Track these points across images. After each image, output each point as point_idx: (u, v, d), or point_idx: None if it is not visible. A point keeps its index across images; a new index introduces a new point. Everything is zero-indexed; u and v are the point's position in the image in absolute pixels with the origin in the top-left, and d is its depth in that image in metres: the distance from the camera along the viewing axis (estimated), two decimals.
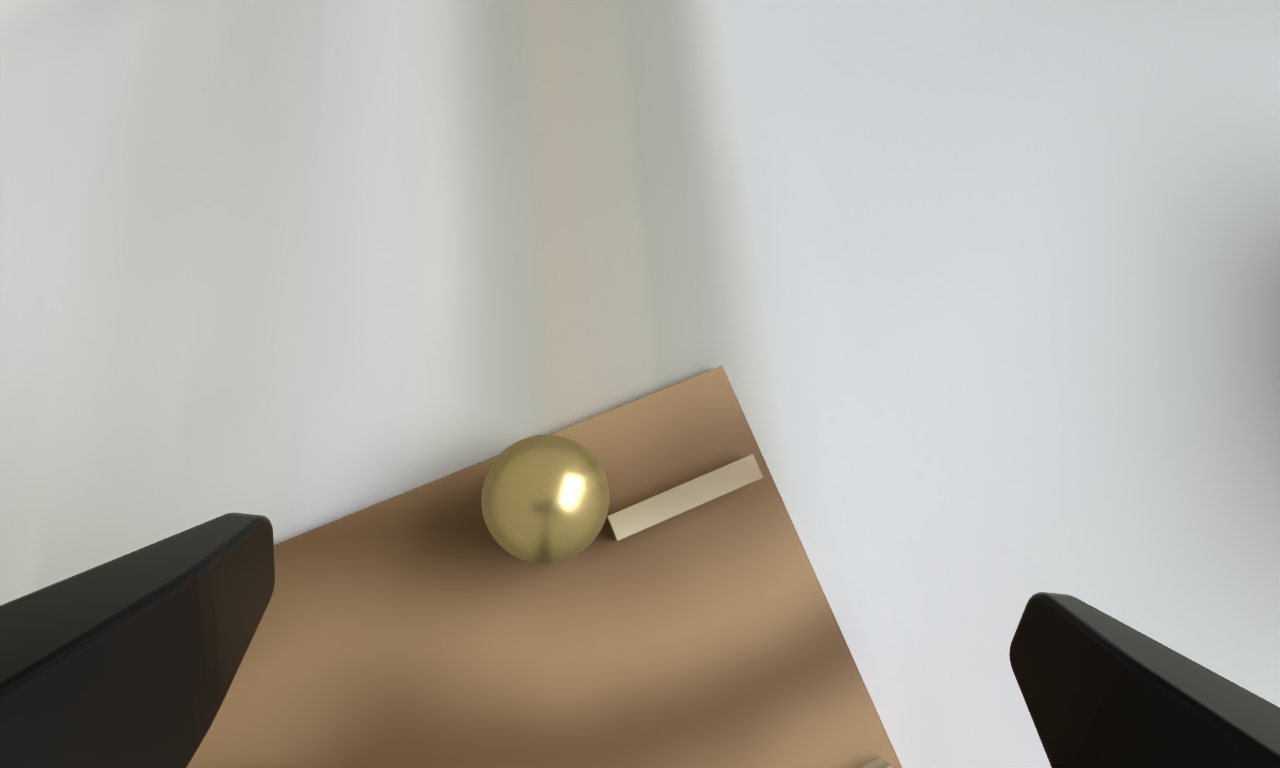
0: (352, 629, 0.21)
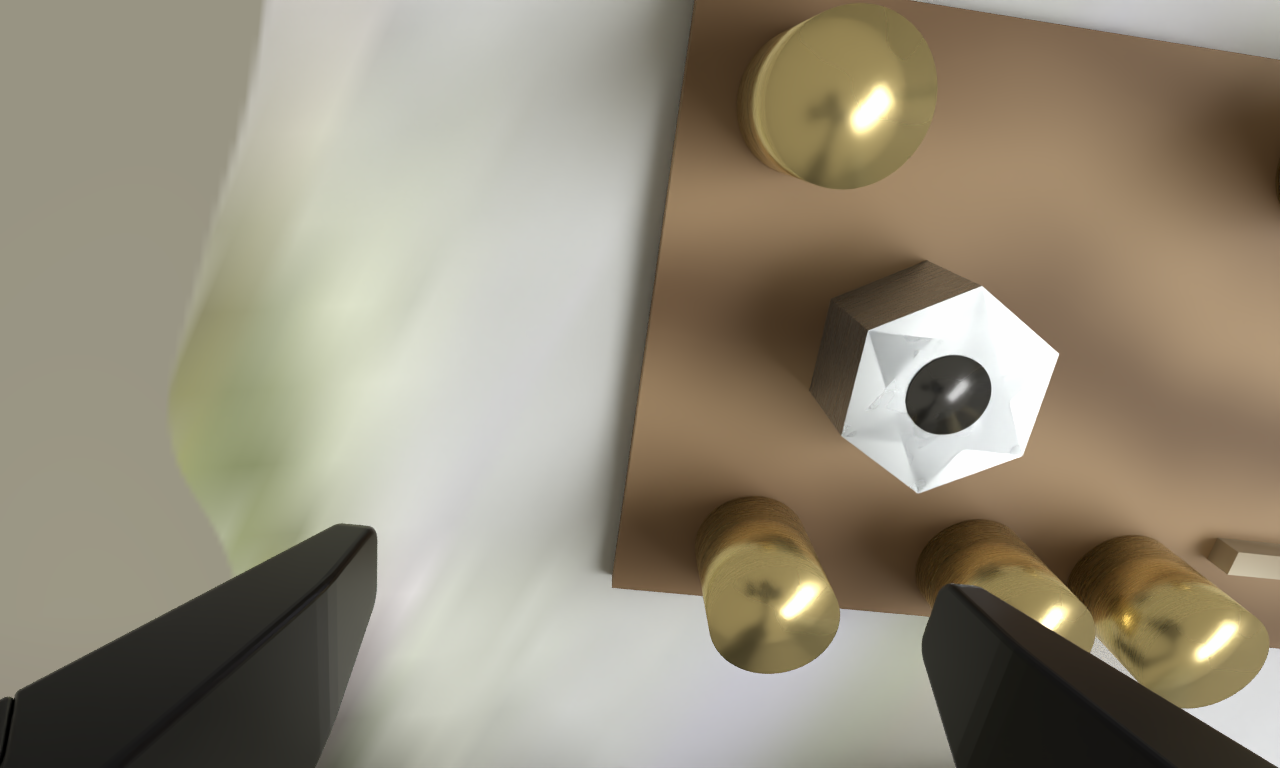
0: (1079, 174, 0.18)
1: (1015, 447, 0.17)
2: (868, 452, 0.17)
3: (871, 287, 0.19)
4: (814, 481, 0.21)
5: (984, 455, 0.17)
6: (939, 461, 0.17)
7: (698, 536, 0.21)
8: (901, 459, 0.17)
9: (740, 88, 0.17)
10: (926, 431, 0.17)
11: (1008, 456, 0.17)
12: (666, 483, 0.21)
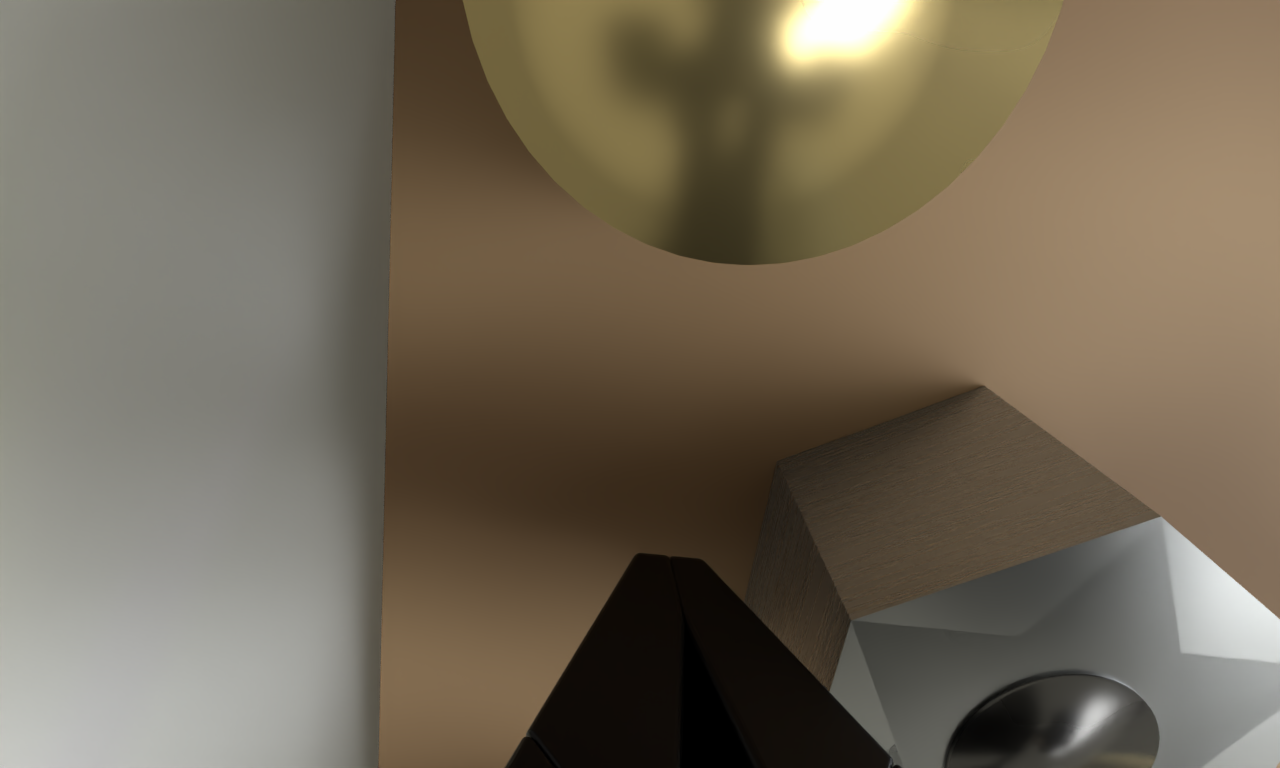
0: None
1: None
2: None
3: (864, 445, 0.08)
4: None
5: None
6: None
7: None
8: None
9: None
10: None
11: None
12: None
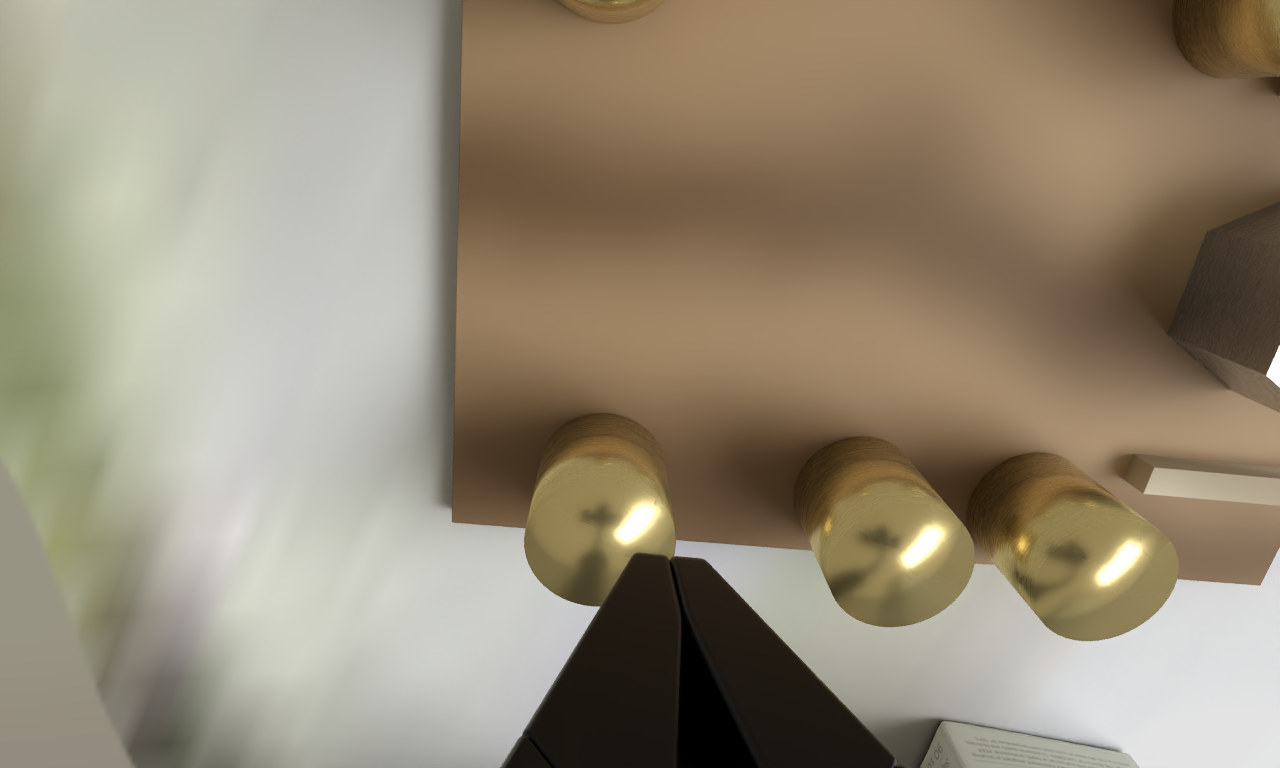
0: (940, 16, 0.15)
1: None
2: None
3: (1260, 216, 0.17)
4: (668, 395, 0.18)
5: None
6: None
7: (540, 460, 0.19)
8: None
9: None
10: None
11: None
12: (499, 399, 0.18)
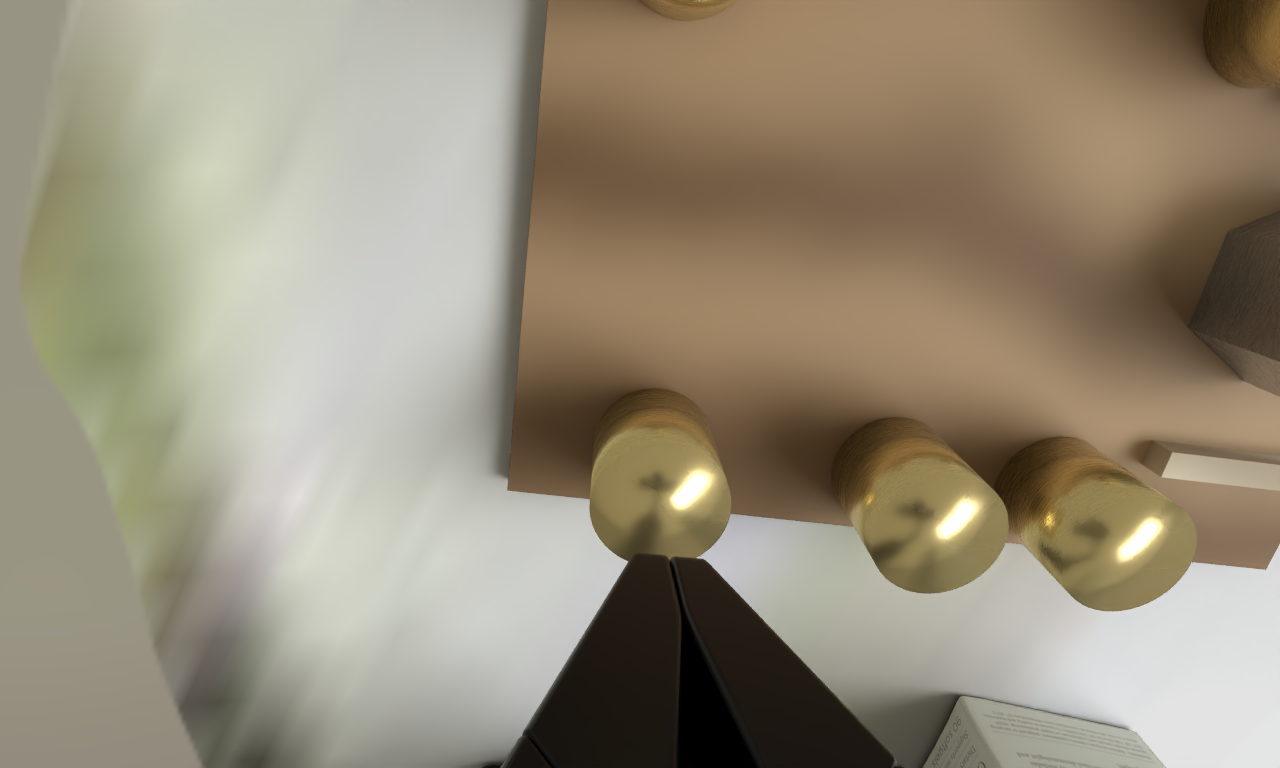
0: (990, 22, 0.17)
1: None
2: None
3: (1278, 217, 0.18)
4: (718, 372, 0.20)
5: None
6: None
7: (595, 431, 0.20)
8: None
9: None
10: None
11: None
12: (559, 373, 0.19)
